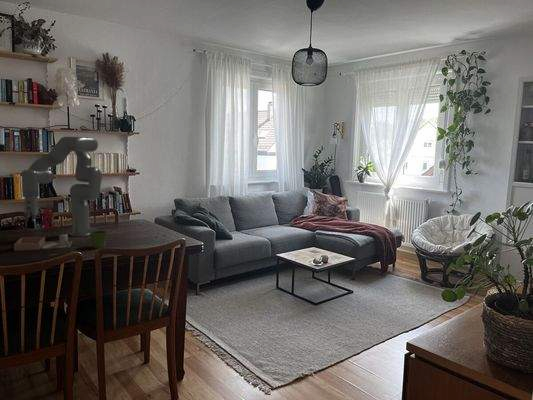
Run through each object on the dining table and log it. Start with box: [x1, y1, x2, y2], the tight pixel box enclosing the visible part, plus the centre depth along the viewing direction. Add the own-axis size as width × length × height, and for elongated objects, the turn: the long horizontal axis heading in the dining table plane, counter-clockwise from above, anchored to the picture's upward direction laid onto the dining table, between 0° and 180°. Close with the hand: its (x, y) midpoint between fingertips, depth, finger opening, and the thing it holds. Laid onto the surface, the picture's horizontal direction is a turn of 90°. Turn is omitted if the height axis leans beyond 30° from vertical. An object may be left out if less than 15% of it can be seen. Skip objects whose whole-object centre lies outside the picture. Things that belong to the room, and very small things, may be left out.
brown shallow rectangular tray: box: [13, 236, 46, 252], centre depth 216 cm, size 12×16×4 cm
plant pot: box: [89, 230, 108, 249], centre depth 221 cm, size 9×9×9 cm
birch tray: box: [40, 240, 73, 250], centre depth 221 cm, size 14×14×1 cm
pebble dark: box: [26, 218, 37, 231], centre depth 214 cm, size 4×4×6 cm
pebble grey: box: [59, 233, 69, 246], centre depth 221 cm, size 4×4×6 cm
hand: (31, 227), depth 214 cm, fingers closed on pebble dark, 4 cm apart
